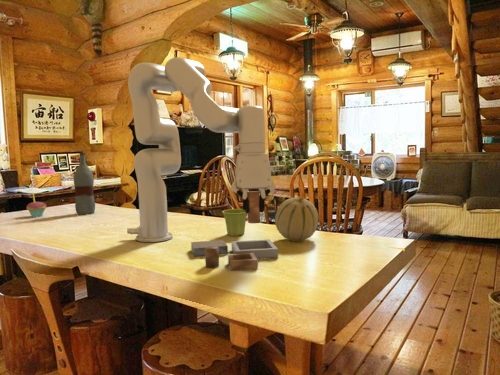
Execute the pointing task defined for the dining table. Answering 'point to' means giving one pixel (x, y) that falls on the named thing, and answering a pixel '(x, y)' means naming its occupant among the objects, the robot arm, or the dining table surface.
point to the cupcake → (36, 208)
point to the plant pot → (235, 221)
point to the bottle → (84, 188)
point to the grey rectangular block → (199, 247)
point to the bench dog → (212, 256)
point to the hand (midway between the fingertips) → (253, 211)
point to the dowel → (254, 207)
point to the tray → (256, 248)
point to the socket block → (242, 261)
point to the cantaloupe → (296, 219)
